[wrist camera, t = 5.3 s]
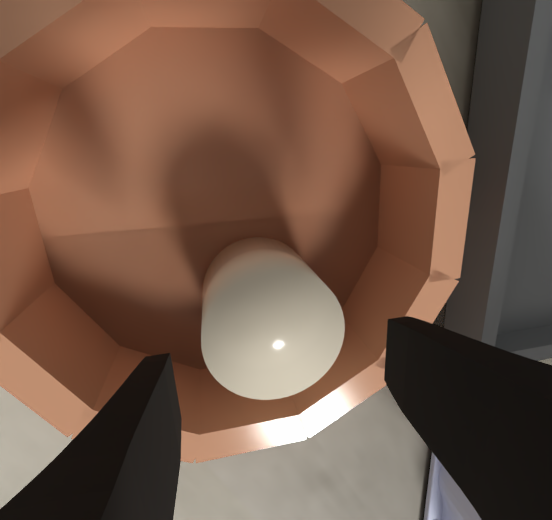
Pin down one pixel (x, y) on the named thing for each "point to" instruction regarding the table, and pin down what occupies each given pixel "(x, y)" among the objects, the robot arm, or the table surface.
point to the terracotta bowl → (217, 193)
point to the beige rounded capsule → (267, 320)
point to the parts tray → (509, 185)
